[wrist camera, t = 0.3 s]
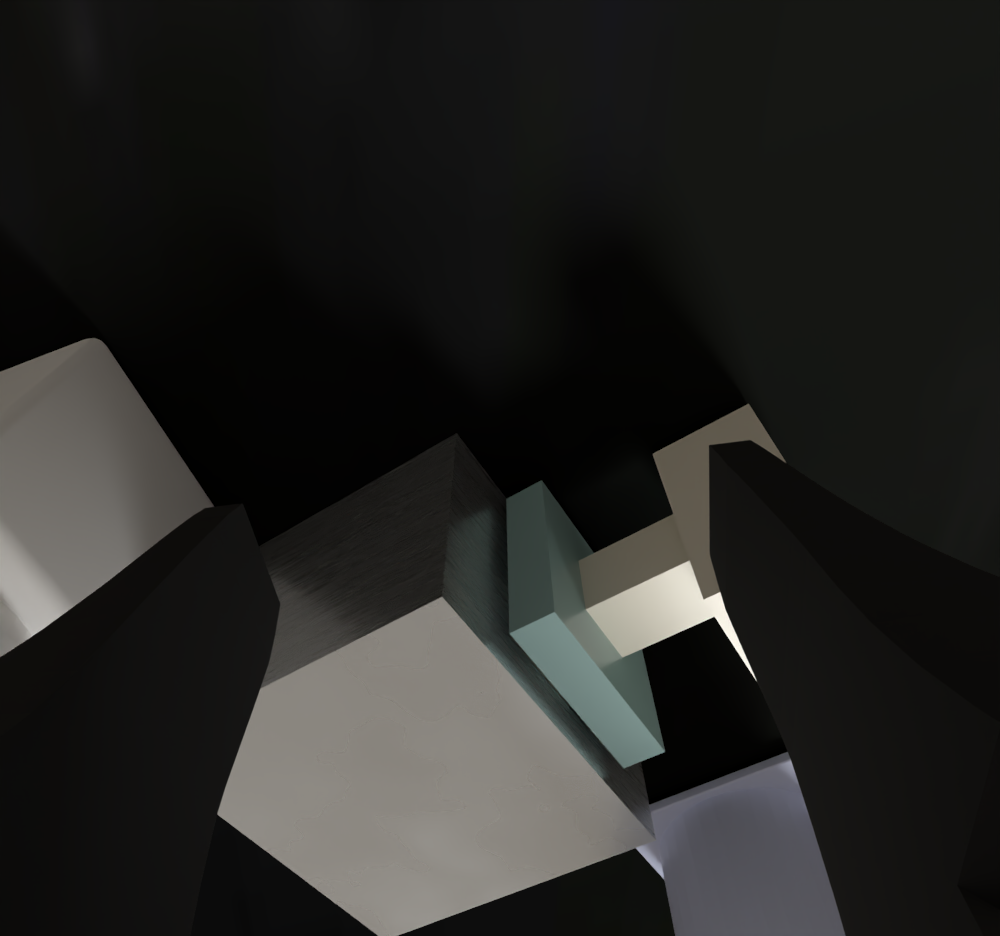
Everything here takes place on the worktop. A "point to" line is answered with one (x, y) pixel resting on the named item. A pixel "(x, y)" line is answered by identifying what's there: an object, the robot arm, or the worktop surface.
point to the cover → (619, 591)
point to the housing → (418, 713)
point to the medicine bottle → (78, 484)
